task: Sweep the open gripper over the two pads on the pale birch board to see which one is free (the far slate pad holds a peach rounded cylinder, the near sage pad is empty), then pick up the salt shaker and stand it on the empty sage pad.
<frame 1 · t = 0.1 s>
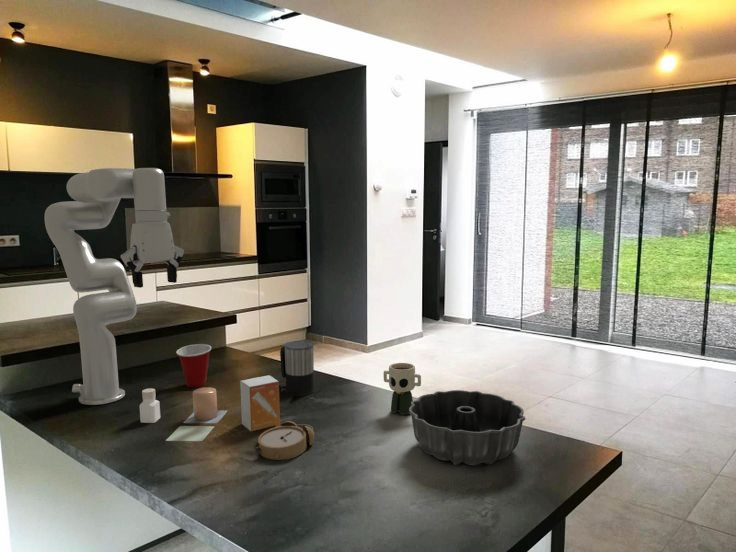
hand: (155, 284, 149), 37 cm above the worktop, tool pointing down, fingers open, 9 cm apart
character mug: (402, 412, 159), on the worktop
plastic cup: (196, 385, 185), on the worktop
alarm clock: (288, 448, 138), on the worktop
peach rounded cylinder: (205, 416, 154), point 1 cm above the worktop, touching board
bundt pan: (465, 450, 135), on the worktop
small box: (261, 430, 149), on the worktop
milk frother: (287, 393, 176), on the worktop
board: (198, 430, 149), on the worktop
salt shaker: (151, 425, 153), on the worktop
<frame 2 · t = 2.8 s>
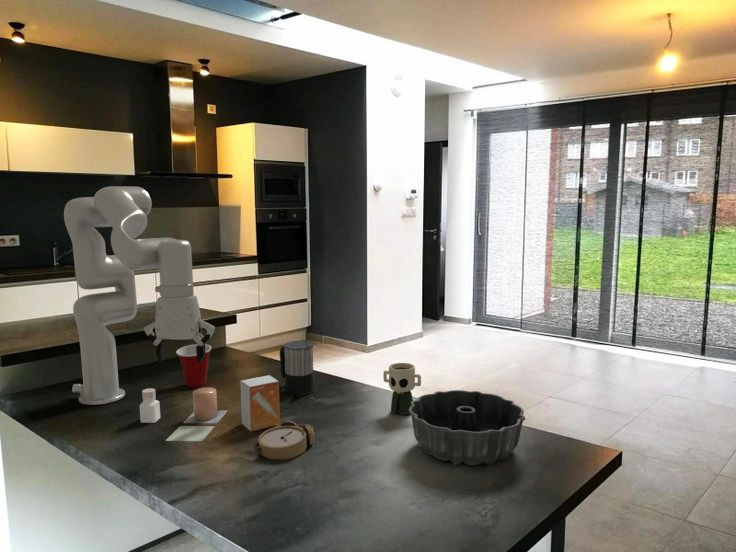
hand: (181, 360, 142), 20 cm above the worktop, tool pointing down, fingers open, 9 cm apart
nothing on the worktop moved.
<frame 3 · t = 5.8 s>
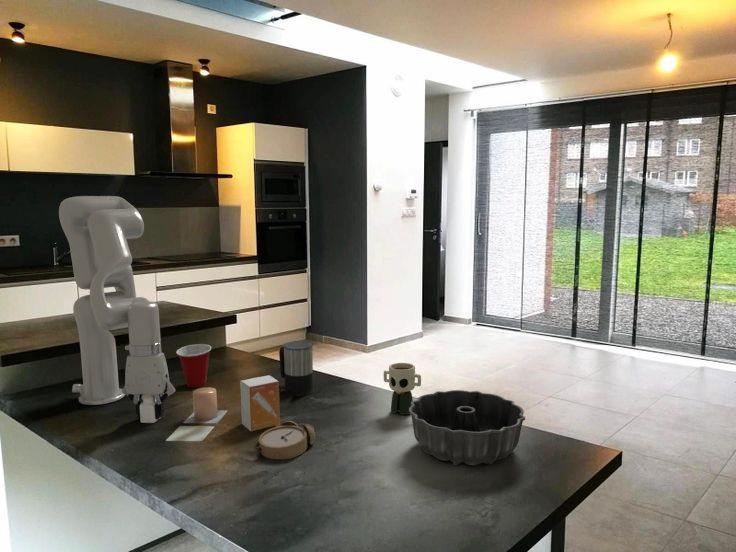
hand: (150, 416, 152), 2 cm above the worktop, tool pointing down, fingers closed on salt shaker, 4 cm apart
salt shaker: (151, 425, 153), on the worktop, touching gripper
everything else where it was.
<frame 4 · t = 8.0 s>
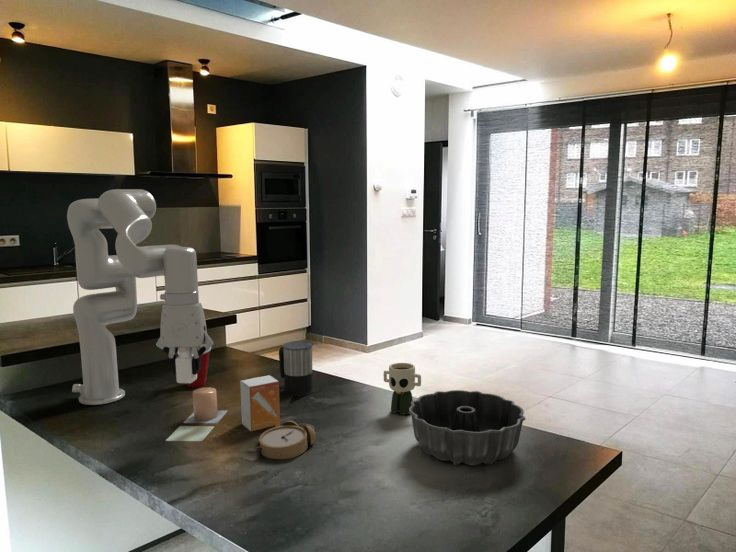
hand: (186, 372, 141), 17 cm above the worktop, tool pointing down, fingers closed on salt shaker, 4 cm apart
salt shaker: (187, 382, 142), point 15 cm above the worktop, touching gripper
everything else where it was.
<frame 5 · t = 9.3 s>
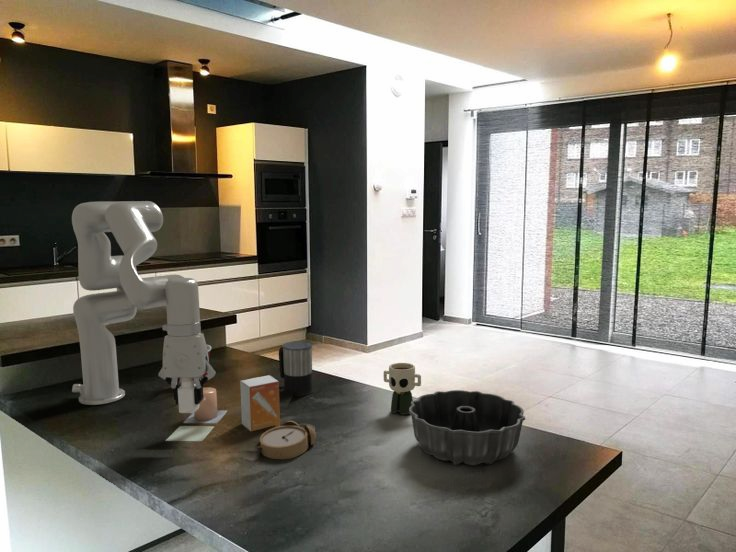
hand: (188, 401, 142), 10 cm above the worktop, tool pointing down, fingers closed on salt shaker, 4 cm apart
salt shaker: (189, 411, 142), point 7 cm above the worktop, touching gripper
everything else where it was.
when the fingers open (5 cm above the worktop, at t = 10.5 s): salt shaker stays where it is, resting on board.
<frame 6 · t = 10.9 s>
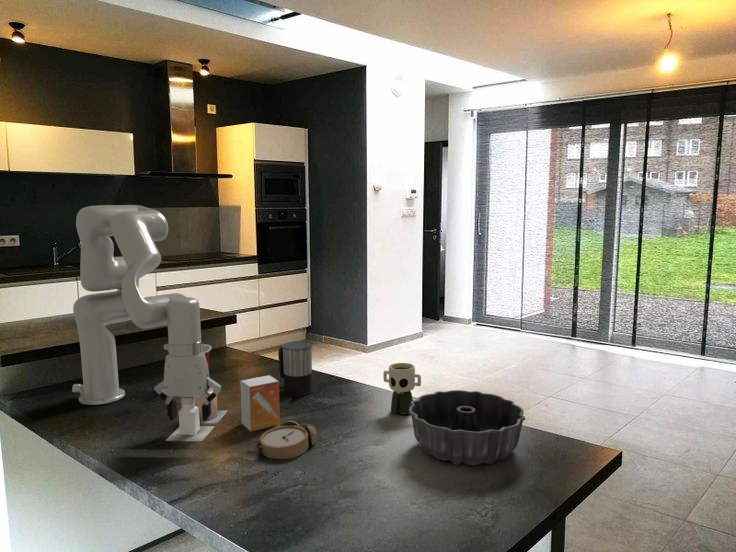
hand: (189, 418, 143), 5 cm above the worktop, tool pointing down, fingers open, 7 cm apart
salt shaker: (190, 433, 143), point 1 cm above the worktop, touching board
everything else where it was.
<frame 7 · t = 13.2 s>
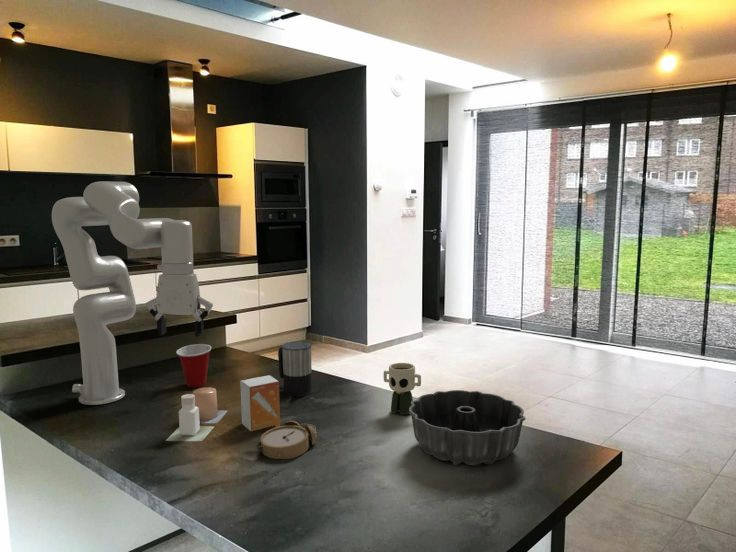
hand: (180, 334, 150), 24 cm above the worktop, tool pointing down, fingers open, 9 cm apart
nothing on the worktop moved.
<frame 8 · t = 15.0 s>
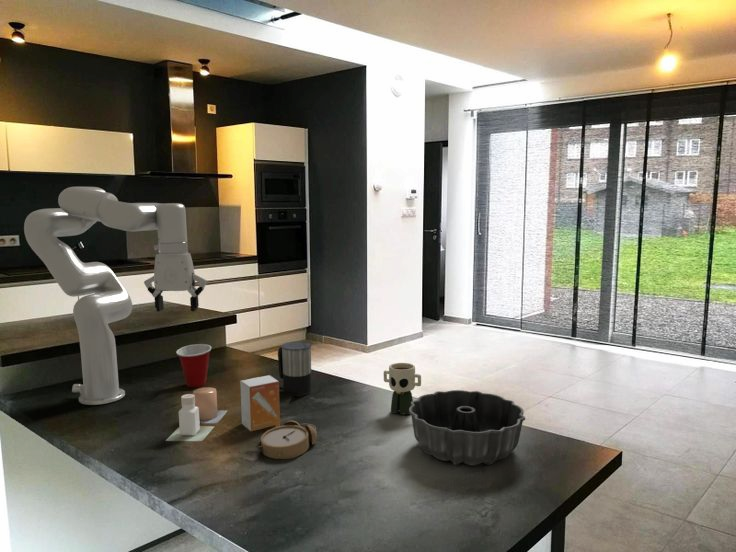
hand: (177, 310, 161), 28 cm above the worktop, tool pointing down, fingers open, 9 cm apart
at the end: salt shaker inside the target area on the board (0.2 cm from its centre), point 1.3 cm above the board's base; salt shaker tilted 0°; peach rounded cylinder moved 0.0 cm from its start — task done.
